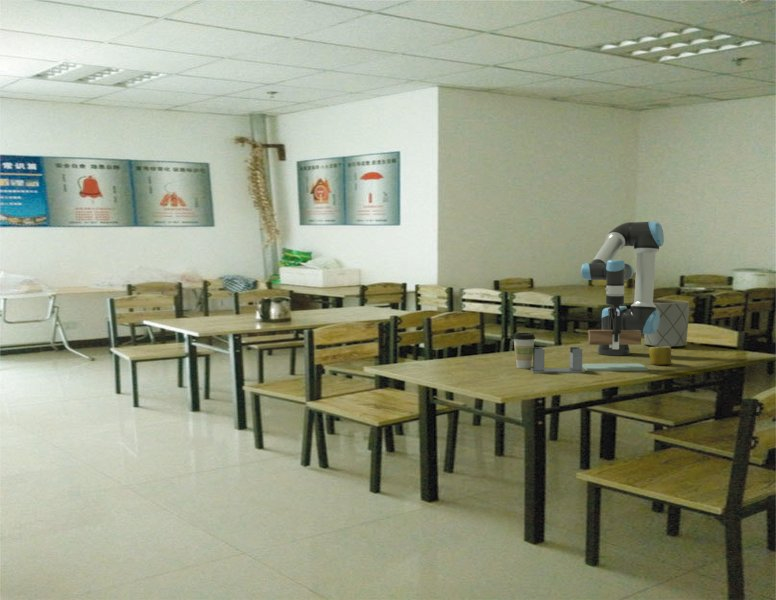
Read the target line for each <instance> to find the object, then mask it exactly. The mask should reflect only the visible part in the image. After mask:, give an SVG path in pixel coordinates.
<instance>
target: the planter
mask: <svg viewBox="0 0 776 600" xmlns="http://www.w3.org/2000/svg"><path fill="white" fill-rule="evenodd" d="M653 304H654V305H655V306H656V310H657V311H659V313H660V315H659V316H660V320H659V325H658V328H657V330H656V332H655V333H654V334H645V335H644V334H643V335H644V336H643V337H644V343H645V346H650V347H660V346H668V347H671V348H672V347H683V346H685V348H686V346H687V340H688V329H689V317H690V315H689V314H690V301H689V300H683V299H653Z"/></svg>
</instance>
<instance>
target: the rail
mask: <svg viewBox="0 0 776 600" xmlns="http://www.w3.org/2000/svg"><path fill="white" fill-rule="evenodd" d="M612 333H613V330H602V329H588V330H587V344H588V345H590V346H592V345H593V346H597V345H598V346H599V345H612ZM619 345H628V346H630V345H635V346H636V345H642V334H641V331H640V330H621V333H620V334H619Z"/></svg>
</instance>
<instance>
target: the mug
mask: <svg viewBox="0 0 776 600" xmlns="http://www.w3.org/2000/svg"><path fill="white" fill-rule="evenodd" d="M648 354H649V359H650V364H651V365H653V366H666V365H669V366H670V365H672V346H671V347H668V346H660V347H657V346H650V347H649V348H648Z"/></svg>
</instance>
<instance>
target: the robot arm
mask: <svg viewBox="0 0 776 600" xmlns="http://www.w3.org/2000/svg"><path fill="white" fill-rule="evenodd" d="M664 235H665V234H664V230H663V226H662V225H661V224H660V223H659V222H658V221H637V222H636V221H635V222H634V221H633V222H632V221H631V222H630V221H628V222H624V223H621V224H619V225H617V226H616V227H614V228H613V229H612V230H610V231H609V233H608V234H607V235H606V236H605V242H604V243H603V245H601V248H600V249H599V250H598V252H597V253H596V255H595V257H593V259H592V261H591V262H590V263H589V262H586V263H583V264H582V265H581V268H580V274H581V278H582V280H588V281H589V280H590V281H605V282H606V283H605V284H606V287H605V288H604V290H605V291H606V292H605V294H606V296H605V304H606V305H609V306H610V307H605V308H603V309H602V310H601V330H613V333H612V345H598V347H597V354H599V355H602V356H603V355H604V356H613V357H614V356H617V357H618V356H620V357H621V356H628V355H630V353H631V351H630V347H629V346H630V345H619V334H620V333H621V330H640V331H641V335H645V334H654V333H655V332H656V330H657V328H658V325H659V320H660V316H659V315H660V313H659V311H657V310H656V306H655V305H654V304H653V300H654V289H655V271H656V269H655V268H656V254H657V253H658V252H659V250H660V247H662V246H664V243H665V237H664ZM625 247H633V251H634V252H635V253H636V259H635V261H636V262H635V282H634V300H633V302H632V304H631V305H630V308H629V309H628V307H627V306H626V305H624V304H625V297H624V295H625V281H628V280H630V279H632V277H633V275H634V268H633V266H632V265H630V264H629V263H625V260H622V259H614V258H615V257H616V256H617V254H618V253H619V251H621V250H623V248H625Z"/></svg>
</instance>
